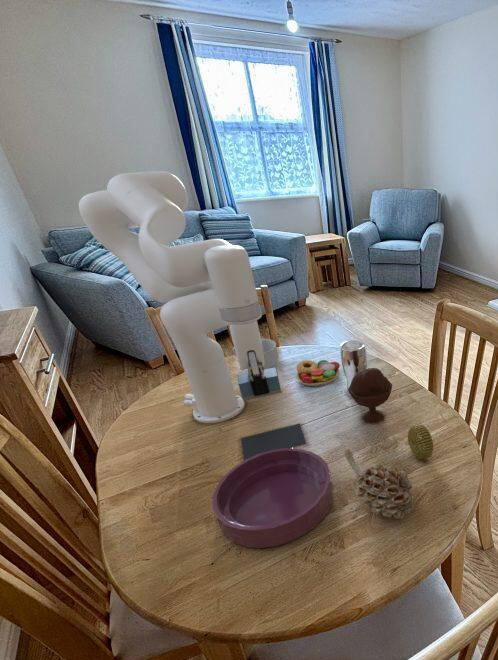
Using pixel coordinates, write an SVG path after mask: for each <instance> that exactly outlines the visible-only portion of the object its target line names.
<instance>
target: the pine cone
mask: <svg viewBox="0 0 498 660" xmlns="http://www.w3.org/2000/svg"><path fill="white" fill-rule="evenodd" d="M353 454H354V453H353V452H352V451H351V450H350V449H349V447H347V448H346V449H345V452H344V456H345V459H346V460H347V461H348V464H349V466H350V467H351V469H352V470H353V472H354V473H355V475H356V477H357V479H355V482H357V486H356V490H355V492H354V493H355V494H356V498H357V499H361V503H362V505H364V506H365V507H366V508H367V509H368V508H369V507H371V512H372V513H374V514H376V515H379V514H382V516H383V518H386V517H387V518H391V517H392V516H393V518H395V519H403V518H404V516H405V514H408V515H409V514H410V513H411V512H412V511H413V510H414V509H415V505H414V494H412V493H411V491H412V490H413V489H415V488H414V486H413V481H412V480H410V479H409V474H407V473H405V471H403V470H401V471H399V468H398V465H389V466H387V467H385V465H384V464H383V463H381V464H380V463H377V464H376V465H375V466H369V467H367V468H366V469H365V470H363V471H362V470H361V469H360V467H359V466H358V464H357V463H356V461H355V458H354V456H353Z"/></svg>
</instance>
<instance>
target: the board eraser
mask: <svg viewBox="0 0 498 660" xmlns="http://www.w3.org/2000/svg"><path fill="white" fill-rule="evenodd" d="M259 371H260V370H259ZM263 373H264V377H265V376H266V380H267V384H268V388H269V393H268V394H264V395H259V396H254V394H253V390H252V386H251V383H250V379H251V378H250V375H249V372H244V373H240V374H237V375H236V378H237V382H238V387H239V391H240V395H241V398H242V399H243V401H244V402H247V401H251V400H256V399H261V398H264V397H269V396H274V395H278V394H279V395H280V394H282V387H281V384H280V379H279V375H278V372H277V368H276V366H275V367H274V368H269V369H264V370H263Z"/></svg>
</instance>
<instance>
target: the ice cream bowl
mask: <svg viewBox="0 0 498 660" xmlns="http://www.w3.org/2000/svg"><path fill="white" fill-rule="evenodd" d="M392 388H393V383H392V382H391V381H390V380H389V379H388V377H387V376H386V375H384V373H383V372H382V370H380V369H379V368H377V367H367V369H366V370H365V371H361V372H359V373H357V374H356V375H355V376H354V378H353V379H352V382H351V385H350V387H349V389H348V391H349V393H350V395H351V397H350V398H352V400H353V401H354V402H355V403H356V404H357V405H359V406H360V407H365V408H367V409H368V411H365V412H364V413H363V416H362V420H363V421H364V423H368V424H377V423H381V421H383V420H384V414H383V412H382V411H380V410H378V409H377V407H379V406H381V405H383V404H384V403H386V402H387V401H388V400H389V398H390V396H391V392H392Z"/></svg>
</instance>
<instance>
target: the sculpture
mask: <svg viewBox="0 0 498 660" xmlns="http://www.w3.org/2000/svg"><path fill="white" fill-rule="evenodd" d="M407 443H408V446H409V448H410V450H411V452H412V454H413V455H414V457H416V458H417V459H419V460H425V459H428V458H430V457H431V456H432V455H433V453H434V440H433V437H432V435H431V433H430V431H429V430H428V428H427V427H426V426H424V425H422V424H414V425H412V426H410V428H409V430H408V432H407Z"/></svg>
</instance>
